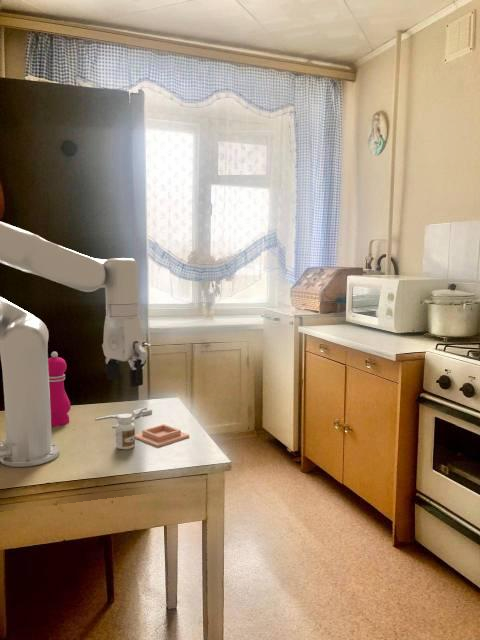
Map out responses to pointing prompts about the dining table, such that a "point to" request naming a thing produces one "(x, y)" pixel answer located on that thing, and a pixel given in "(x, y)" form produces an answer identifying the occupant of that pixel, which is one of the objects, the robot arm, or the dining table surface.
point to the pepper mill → (58, 391)
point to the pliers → (134, 415)
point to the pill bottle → (125, 432)
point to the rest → (161, 435)
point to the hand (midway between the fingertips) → (124, 382)
